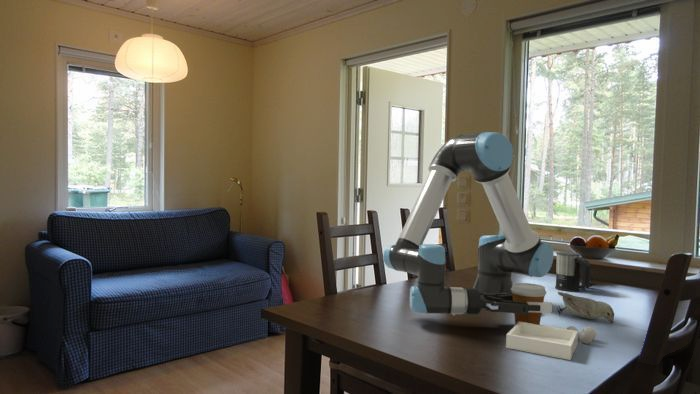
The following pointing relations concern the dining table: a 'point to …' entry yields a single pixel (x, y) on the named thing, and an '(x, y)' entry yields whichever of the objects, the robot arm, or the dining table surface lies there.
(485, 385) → the dining table surface
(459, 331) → the dining table surface
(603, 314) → the decorative bird
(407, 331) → the dining table surface
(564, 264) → the milk frother
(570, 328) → the pebble
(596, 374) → the dining table surface
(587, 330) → the pebble
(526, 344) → the dish
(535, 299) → the disposable coffee cup
